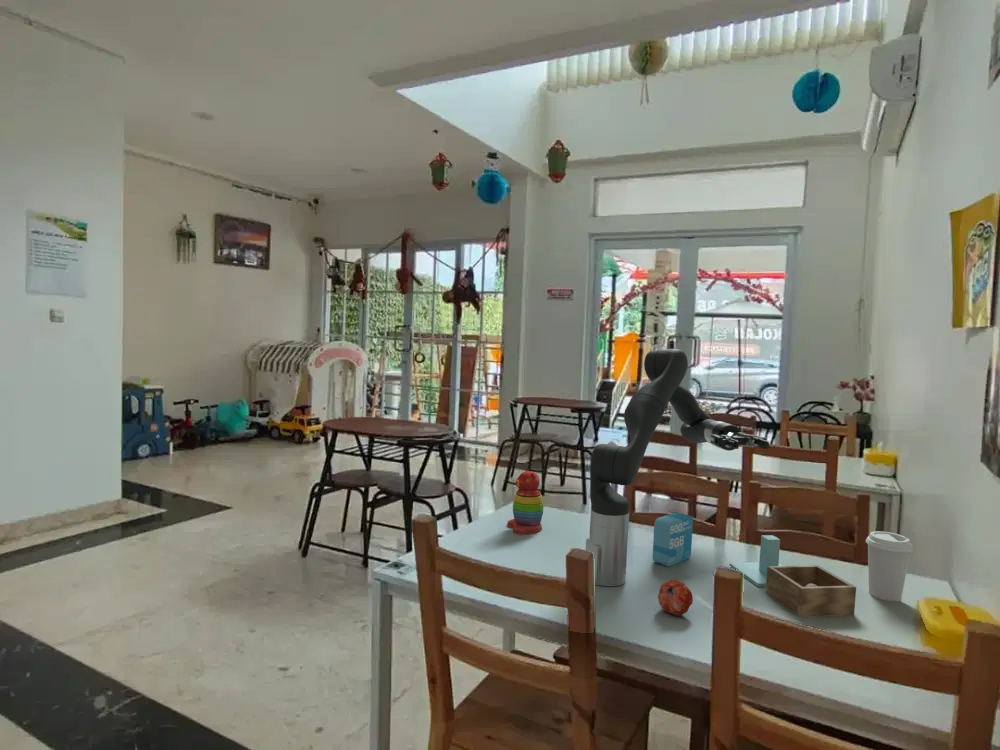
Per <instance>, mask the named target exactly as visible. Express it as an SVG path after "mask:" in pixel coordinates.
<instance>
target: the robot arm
mask: <svg viewBox="0 0 1000 750" xmlns="http://www.w3.org/2000/svg"><path fill="white" fill-rule="evenodd" d="M643 365H644V366H643V367H644V372H645V374H646V376H647V378H648V379H649V381H650V382H648V383H647V384H646V385H643V386H642V387H641V388H639V389H638V390H637V391H636V392H635V393H634V394H633V395H632V396H631V398H630V400H629V402H628V403H627V405H626V407H625V410H624V412H623V418H624V424H625V426H626V430H627V432H628V434H629V437H630V441H629V443H628V444H626V446H623V445H613V444H608V443H607V444H606V443H599V444H597V445H595V446H594V448H593V450H592V451H591V454H590V456H591V457H590V461H589V462H590V463H589V485H590V486H589V487H590V488H589V498H590V521H589V537H588V538H586V540H585V552H586V551H590V552H593V553H594V559H595V585H594V586H604V587H618V586H622V585H624V584H625V583H626V580H627V579H626V578H627V562H628V561H627V560H628V559H627V558H628V541H629V521H630V500H628V499H627V498H626V497H625V496H623V495H622V494H620V493H619V492H618V491H616V490H615V489H614V488H613V487H612V485H611V484H613V485H619V486H629V485H631V484H632V483H634V481H635V479H636V477H637V476H638V473H639V470H640V468H641V465H642V462H643V459H644V456H645V453H646V451H647V448H648V445H649V443H650V441H651V439H652V437H653V435H654V432H655V430H656V429H657V427H658V425H659V423H660V421H661V420H662V417H663V415H664V413H665V410H666V407H667V405H668V404H669V403H670V405H671V406H672V408H673V410H674V411H675V413H676V415H677V417H678V419H679V420H680V421H681V422H683V423H682V425H681V427H680V434H681V436H682V437H683V439H685V440H686V442H687V441H688V442H689V443H693V444H703V443H708V444H711V445H712V446H713V447H716V448H718V449H721V450H725V451H727V452H729V451H735V450H738V449H739V448H742V447H744V448H750V449H751V448H754V447H756V448H759V449H763V450H768V449H769V447H770V442H769V441H768V438H767V437H765V436H761V435H759V434H748V433H745V432H742V431H741V429H740V428H739V427H738V426H736V425H734V424H731V423H727V422H724V421H718V420H715V419H713V417H712V416H711V415H710V414H708V413H707V412H706V411H704V410H703V409H702V408H701V407H700V405H699V402H698V401H697V399H696V397H695V396H694V395H693V393H692V392H690V390H688V388H686V387H684V386H682V385H681V383H682V381H683V379H684V377H685V376H686V374H687V373H686V372H687V370H688V356H687V354H686V353H685V352H684V351H683V350H681V349H678V348H677V349H676V348H666V349H654V350H653V349H652V350H650V351H648V352H647V353H646V355H645V357H644V361H643ZM748 443H749V444H748Z"/></svg>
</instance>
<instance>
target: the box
mask: <svg viewBox="0 0 1000 750" xmlns="http://www.w3.org/2000/svg"><path fill="white" fill-rule="evenodd" d="M807 584H815V585H817V586H815V587H805V586H806V585H807ZM765 593H766V594H768V595H769V596H770V597H771V598H774V599H775V600H776V601H777V602H779V603H780V604H781V605H782V606H785V607H786V608H787V609H788V610H790V611H791V612H792V613H794V614H795V615H796V616H798V617H800V618H805V617H809V618H810V617H831V616H832V617H833V616H855V607H856V597H857V596H856V595H857V586H855V585H854V584H851V583H849V582H848V581H846V580H844V579H843V578H841V577H839V576H838V575H836V574H834V573H832V572H831V571H829V570H827V569H825V568H823V567H822V566H820V565H817V564H815V565H814V564H812V565H806V564H805V565H783V566H768V567H767V582H766V587H765Z"/></svg>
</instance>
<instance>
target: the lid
mask: <svg viewBox="0 0 1000 750" xmlns="http://www.w3.org/2000/svg"><path fill="white" fill-rule="evenodd" d="M780 546H781V539H780V538H778V537H777V536H774V535H773V534H771V535H768V534H767V535H763V534H762V535H761V536H760V548H759V549H760V550H759V562H758V561H757V562H729V564H728V565H729V566H731V567H729V566H728V567H729V568H730V569H732V568H733V569H737V570H740V571H742V572H743V573H744V576H745V577H744V576H743V577H744V578H745V579H746V580H748V582H751V583H752V584H753V585H754V586H756V587H758V588H766V582H767V567H768V566H784V564H781V563H780V562H779V561H780V548H781V547H780ZM733 569H732V570H733Z"/></svg>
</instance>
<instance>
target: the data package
mask: <svg viewBox="0 0 1000 750" xmlns="http://www.w3.org/2000/svg"><path fill="white" fill-rule="evenodd" d="M653 524H654V525H653V541H652V544H653V545H652V561H653V562H654V563H657V564H660V565H663V566H665V567H671V566H674V565H676V564H678V563H679V564H680V563H681V562H684V561H686V560H689V559H690V557H691V554H692V545H693V541H692V540H693V524H694V519H693V516H691V515H689V514H685V513H681V512H672V513H670V514H666V515H664V516H663V515H662V516H660V517H657V518H656V519H655V521H654V523H653Z"/></svg>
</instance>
